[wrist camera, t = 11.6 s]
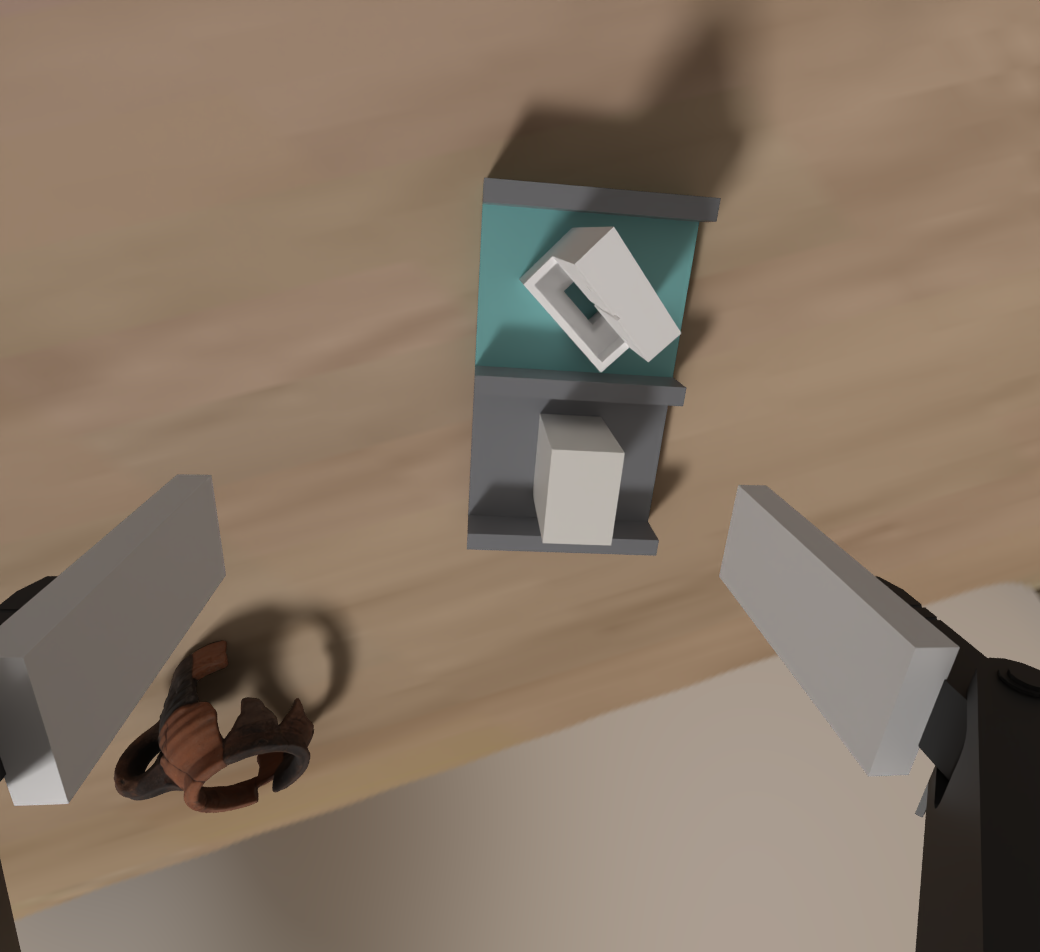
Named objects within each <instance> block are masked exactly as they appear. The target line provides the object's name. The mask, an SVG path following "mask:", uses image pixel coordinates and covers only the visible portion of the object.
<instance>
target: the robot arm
mask: <svg viewBox="0 0 1040 952" xmlns="http://www.w3.org/2000/svg"><path fill="white" fill-rule="evenodd" d="M225 576H226V572H225V566H224V559H223V552H222V545H221V538H220V531H219V524H218V517H217V510H216V504H215V497H214V490H213V483H212V476H211V475H184V474H177V475H176V476H175V477H174V478H173V479H171V480H170V481H169V482H168V483H167V484H166V485H164V486H163V487H162V488H161V489H160V490H159V491H157V492H156V493H155V494H154V495H153V496H152V497H150V498H149V499H148V500H147V501H146V502H145V503H143V504H142V505H141V506H140V507H139V508H137V509H136V510H135V511H134V512H133V513H132V514H130V515H129V516H128V517H127V518H126V519H125V520H123V521H122V522H121V523H120V524H119V525H118V526H116V527H115V528H114V529H113V530H112V531H110V532H109V533H108V534H107V535H106V536H105V537H103V538H102V539H101V540H100V541H99V542H98V543H96V544H95V545H94V546H93V547H92V548H91V549H89V550H88V551H87V552H86V553H85V554H84V555H82V556H81V557H80V558H79V559H78V560H76V561H75V562H74V563H73V564H72V565H71V566H69V567H68V568H67V569H66V570H65V571H64V572H62V573H61V574H60V575H59V576H47V577H45V578H43V579H41V580H39V581H37V582H35V583H33V584H31V585H29V586H27V587H25V588H23V589H21V590H18V591H16V592H15V593H14V594H13V595H12V596H10V597H9V598H8V599H7V600H5V601H4V602H3V603H2V604H0V781H1V780H2V779H3V778H5V781H6V783H7V786H8V789H9V792H10V795H11V798H12V800H13V803H14V806H19V805H48V804H69V802H70V801H71V799H72V798H73V796H74V795H75V794H76V792H77V791H78V789H79V788H80V786H81V785H82V783H83V782H84V780H85V779H86V778H87V776H88V775H89V773H90V772H91V770H92V769H93V767H94V766H95V764H96V763H97V762H98V760H99V759H100V757H101V756H102V754H103V753H104V751H105V750H106V748H107V747H108V746H109V744H110V743H111V741H112V740H113V738H114V737H115V735H116V734H117V733H118V731H119V730H120V728H121V727H122V725H123V724H124V722H125V721H126V719H127V718H128V717H129V715H130V714H131V712H132V711H133V709H134V708H135V706H136V705H137V703H138V702H139V701H140V699H141V698H142V696H143V695H144V693H145V692H146V690H147V689H148V687H149V686H150V685H151V683H152V682H153V680H154V679H155V677H156V676H157V674H158V673H159V672H160V670H161V669H162V667H163V666H164V664H165V663H166V661H167V660H168V658H169V657H170V656H171V654H172V653H173V651H174V650H175V648H176V647H177V645H178V644H179V642H180V641H181V640H182V638H183V637H184V635H185V634H186V632H187V631H188V629H189V628H190V626H191V625H192V624H193V622H194V621H195V619H196V618H197V616H198V615H199V613H200V612H201V610H202V609H203V608H204V606H205V605H206V603H207V602H208V600H209V599H210V597H211V596H212V595H213V593H214V592H215V590H216V589H217V587H218V586H219V584H220V583H221V581H222V580H223V579H224V577H225ZM719 577H720V578H721V579H722V581H723V582H724V583H725V585H726V586H727V587H728V589H729V590H730V591H731V593H732V594H733V595H734V597H735V598H736V599H737V601H738V602H739V604H740V605H741V606H742V608H743V609H744V610H745V612H746V613H747V614H748V616H749V617H750V618H751V620H752V621H753V622H754V624H755V625H756V626H757V628H758V629H759V630H760V632H761V633H762V634H763V636H764V637H765V638H766V640H767V641H768V642H769V644H770V645H771V646H772V648H773V649H774V651H775V652H776V653H777V655H778V656H779V657H780V659H781V660H782V661H783V662H784V664H785V665H786V667H787V668H788V669H789V671H790V672H791V673H792V675H793V676H794V677H795V679H796V680H797V681H798V683H799V684H800V685H801V687H802V688H803V689H804V691H805V692H806V694H807V695H808V696H809V697H810V699H811V700H812V702H813V703H814V704H815V706H816V707H817V708H818V710H819V711H820V712H821V714H822V715H823V716H824V718H825V719H826V720H827V722H828V723H829V724H830V726H831V727H832V728H833V730H834V731H835V732H836V734H837V735H838V736H839V738H840V739H841V740H842V742H843V743H844V745H845V746H846V747H847V749H848V750H849V751H850V753H851V754H852V755H853V756H854V758H855V759H856V761H857V762H858V763H859V765H860V766H861V767H862V769H863V770H864V771H865V773H866V774H867V775H868V776H889V775H890V776H891V775H909V772H910V770H911V767H912V765H913V763H914V760H915V757H916V755H917V752H918V750H919V748H921V750H922V751H923V752H924V753H925V754H926V755H927V756H928V757H929V759H930V760H931V761H932V762H933V763H934V764H935V768H934V770H933V772H932V775H931V777H930V779H929V782H928V784H927V787H926V789H925V791H924V794H923V796H922V798H921V801H920V803H919V806H918V808H917V810H916V813H915V814H916V815H918V816H920V817H923V815H924V814H925V812H926V820H925V833H924V847H923V860H922V873H921V886H920V899H919V912H918V926H917V939H916V952H1040V670H1038V669H1035V668H1033V667H1031V666H1028V665H1026V664H1023V663H1020V662H1016V661H1012V660H1008V659H1003V658H1002V659H1001V658H987V657H985V656H984V655H983V654H982V653H980V652H979V651H978V650H977V649H975V648H974V647H973V646H972V645H971V644H969V643H968V642H967V641H966V640H964V639H963V638H962V637H961V636H960V635H958V634H957V633H956V632H954V631H953V630H952V629H951V628H950V627H948V626H947V625H946V624H945V623H943V622H942V621H941V620H937V617H936V616H935V615H934V614H932V613H931V612H930V611H929V610H928V609H926V608H922V606H921V604H920V603H919V602H918V601H916V600H915V599H914V598H913V597H912V596H910V595H909V594H908V593H907V592H905V591H904V590H903V589H901V588H899V587H897V586H895V585H893V584H891V583H890V582H888V581H886V580H884V579H882V578H880V577H878V576H874V575H873V574H871V573H870V572H869V571H868V570H867V569H865V568H864V567H863V566H862V565H861V564H860V563H858V562H857V561H856V560H855V559H854V558H852V557H851V556H850V555H849V554H848V553H846V552H845V551H844V550H843V549H842V548H840V547H839V546H838V545H837V544H836V543H834V542H833V541H832V540H831V539H830V538H828V537H827V536H826V535H825V534H824V533H822V532H821V531H820V530H819V529H818V528H816V527H815V526H814V525H813V524H812V523H810V522H809V521H808V520H807V519H806V518H805V517H803V516H802V515H801V514H800V513H799V512H797V511H796V510H795V509H794V508H793V507H791V506H790V505H789V504H788V503H787V502H785V501H784V500H783V499H782V498H781V497H779V496H778V495H777V494H776V493H775V492H773V491H772V490H771V489H770V488H769V487H767V486H766V485H738V489H737V494H736V498H735V503H734V508H733V513H732V518H731V522H730V527H729V532H728V537H727V541H726V546H725V551H724V556H723V561H722V565H721V570H720V575H719ZM0 952H21V950H20V946H19V941H18V937H17V932H16V928H15V923H14V919H13V914H12V910H11V905H10V901H9V896H8V892H7V887H6V883H5V878H4V874H3V870H2V865H1V861H0Z"/></svg>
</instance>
